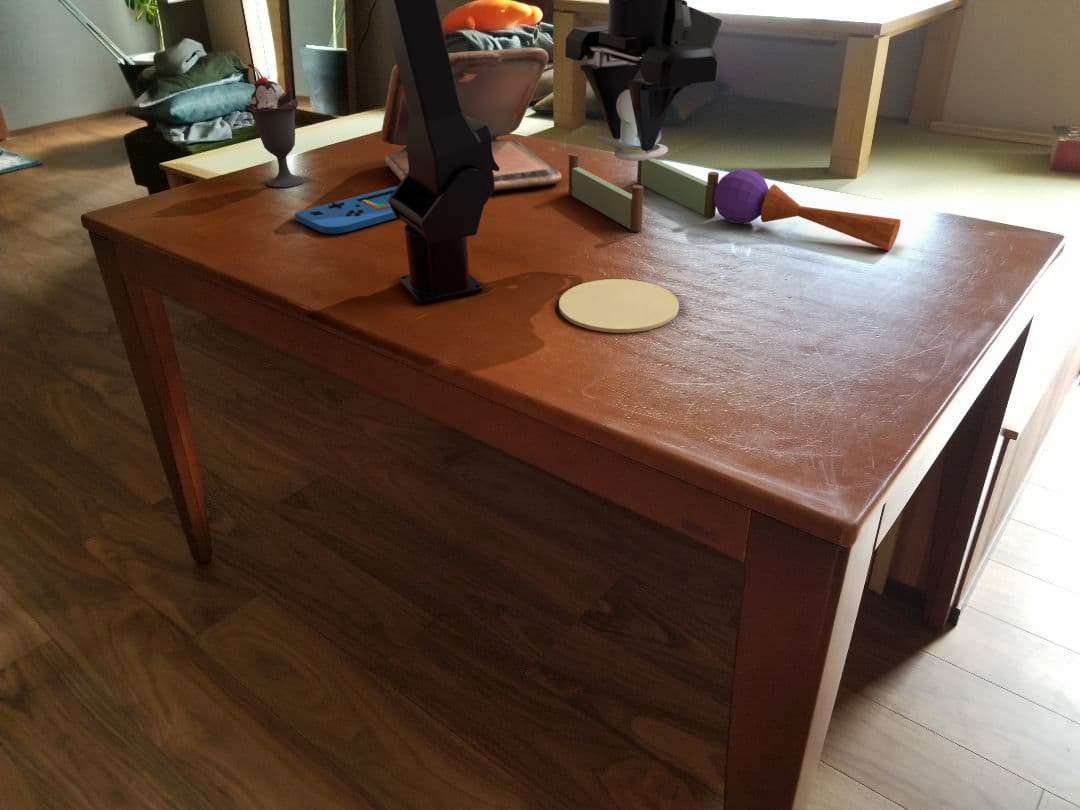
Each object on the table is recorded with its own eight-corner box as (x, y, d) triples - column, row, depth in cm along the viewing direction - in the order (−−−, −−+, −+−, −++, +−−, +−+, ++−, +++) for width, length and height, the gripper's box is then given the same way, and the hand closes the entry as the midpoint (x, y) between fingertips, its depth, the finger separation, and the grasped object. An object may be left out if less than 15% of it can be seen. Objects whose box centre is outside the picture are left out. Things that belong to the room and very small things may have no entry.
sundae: (255, 179, 117) (232, 61, 109) (305, 172, 119) (286, 56, 112) (264, 192, 112) (240, 70, 104) (316, 185, 114) (297, 64, 106)
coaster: (702, 316, 78) (702, 312, 78) (595, 343, 74) (595, 339, 73) (638, 274, 86) (638, 271, 86) (538, 296, 82) (538, 292, 82)
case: (517, 147, 128) (514, 30, 120) (570, 185, 111) (570, 52, 103) (380, 161, 122) (367, 39, 114) (413, 204, 105) (401, 64, 97)
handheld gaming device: (292, 210, 102) (399, 182, 110) (294, 219, 102) (400, 191, 111) (328, 227, 96) (437, 197, 105) (330, 237, 97) (438, 206, 105)
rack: (717, 216, 101) (721, 173, 98) (634, 232, 96) (636, 188, 94) (643, 180, 113) (644, 141, 110) (567, 193, 109) (566, 153, 106)
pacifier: (680, 155, 88) (637, 143, 92) (687, 92, 85) (641, 81, 89) (632, 169, 84) (588, 156, 88) (636, 103, 81) (590, 91, 85)
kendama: (891, 223, 86) (707, 177, 95) (879, 273, 90) (703, 225, 99) (909, 196, 89) (730, 154, 98) (897, 246, 93) (726, 201, 102)
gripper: (775, -24, 76) (754, 155, 84) (657, -37, 90) (648, 117, 98) (670, -18, 72) (658, 170, 80) (563, -33, 86) (562, 128, 94)
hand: (632, 144), depth 88 cm, fingers closed on pacifier, 5 cm apart
